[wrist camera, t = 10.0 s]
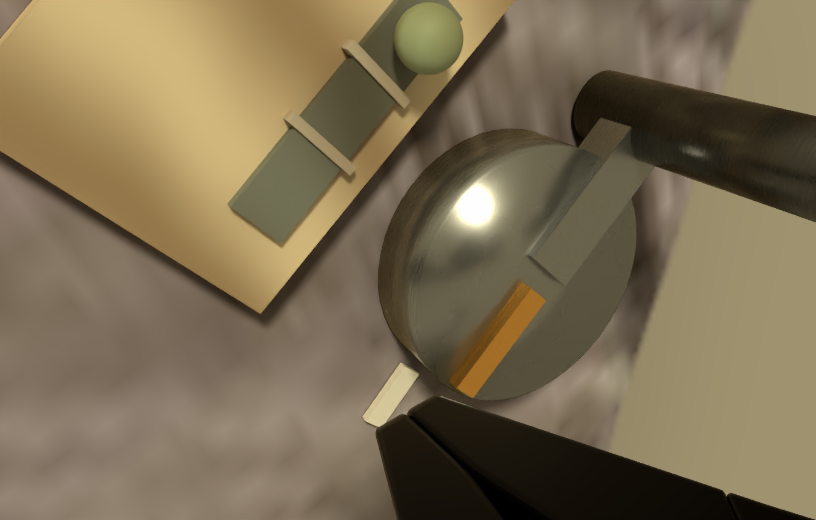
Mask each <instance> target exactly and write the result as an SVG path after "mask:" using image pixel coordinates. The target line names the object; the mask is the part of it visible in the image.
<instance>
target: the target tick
mask: <svg viewBox="0 0 816 520" xmlns="http://www.w3.org/2000/svg"><path fill="white" fill-rule="evenodd" d="M418 376H419V373H418V372H417V371H416V370H414V369H412V368H410V367H409V366H407V365H405V364H403V363H400V364H399V366H398V367H397V368H396V370H395V371H394V373H393V374H392V376H391V377H390V378H389V380H388V381H387V383H386V384H385V386H384V387H383V388H382V390H381V391H380V393H379V394H378V395H377V397H376V398H375V400H374V401H373V403H372V404H371V405H370V407H369V408H368V410H367V411H366V413H365V414H364V415H363V418H364V420H365V421H366V422H368V423H370V424H373V425H375V426H377V427H380V426H381V425H383V424H385V423H386V421H387V420H388V418H389V417H390V415H391V414H392V413H393V411H394V410H395V408H396V407H397V406H398V404H399V403H400V401H401V400H402V398H403V397H404V396H405V394H406V393H407V391H408V390H409V388H410V387H411V386H412V384H413V383H414V381H415V380H416V379H417V377H418Z"/></svg>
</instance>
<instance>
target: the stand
mask: <svg viewBox="0 0 816 520" xmlns="http://www.w3.org/2000/svg"><path fill="white" fill-rule="evenodd" d="M514 1H515V0H32V2H31V3H30V4H29V5H28V6H27V8H26V9H25V10H24V11H23V12H22V14H21V15H20V16H19V17H18V18H17V20H16V21H15V22H14V23H13V24H12V26H11V27H10V28H9V29H8V30H7V32H6V33H5V34H4V35H3V36H2V38H1V39H0V151H1V152H3V153H4V154H6V155H8V156H9V157H11V158H12V159H14V160H16V161H17V162H19V163H20V164H22V165H24V166H25V167H27V168H28V169H30V170H32V171H33V172H35V173H36V174H38V175H40V176H41V177H43V178H44V179H46V180H48V181H49V182H51V183H52V184H54V185H55V186H57V187H59V188H60V189H62V190H63V191H65V192H67V193H68V194H70V195H71V196H73V197H75V198H76V199H78V200H79V201H81V202H83V203H84V204H86V205H87V206H89V207H91V208H92V209H94V210H95V211H97V212H99V213H100V214H102V215H103V216H105V217H107V218H108V219H110V220H111V221H113V222H115V223H116V224H118V225H119V226H121V227H123V228H124V229H126V230H127V231H129V232H131V233H132V234H134V235H135V236H137V237H138V238H140V239H142V240H143V241H145V242H146V243H148V244H150V245H151V246H153V247H154V248H156V249H158V250H159V251H161V252H162V253H164V254H166V255H167V256H169V257H170V258H172V259H174V260H175V261H177V262H178V263H180V264H182V265H183V266H185V267H186V268H188V269H190V270H191V271H193V272H194V273H196V274H198V275H199V276H201V277H202V278H204V279H206V280H207V281H209V282H210V283H212V284H214V285H215V286H217V287H218V288H220V289H221V290H223V291H225V292H226V293H228V294H229V295H231V296H233V297H234V298H236V299H237V300H239V301H241V302H242V303H244V304H245V305H247V306H249V307H250V308H252V309H253V310H255V311H257V312H258V313H260V314H261V313H262V311H263V310H264V309H265V308H266V307H267V305H268V304H269V303H270V302H271V300H272V299H273V298H274V297H275V295H276V294H277V293H278V292H279V290H280V289H281V288H282V287H283V286H284V284H285V283H286V282H287V281H288V279H289V278H290V277H291V276H292V274H293V273H294V272H295V271H296V270H297V268H298V267H299V266H300V265H301V263H302V262H303V261H304V260H305V258H306V257H307V256H308V255H309V254H310V252H311V251H312V250H313V249H314V247H315V246H316V245H317V244H318V242H319V241H320V240H321V239H322V237H323V236H324V235H325V234H326V233H327V231H328V230H329V229H330V228H331V226H332V225H333V224H334V223H335V221H336V220H337V219H338V218H339V217H340V215H341V214H342V213H343V212H344V210H345V209H346V208H347V207H348V205H349V204H350V203H351V202H352V200H353V199H354V198H355V197H356V196H357V194H358V193H359V192H360V191H361V189H362V188H363V187H364V186H365V184H366V183H367V182H368V181H369V180H370V178H371V177H372V176H373V175H374V173H375V172H376V171H377V170H378V168H379V167H380V166H381V165H382V163H383V162H384V161H385V160H386V159H387V157H388V156H389V155H390V154H391V152H392V151H393V150H394V149H395V147H396V146H397V145H398V144H399V143H400V141H401V140H402V139H403V138H404V136H405V135H406V134H407V133H408V131H409V130H410V129H411V128H412V126H413V125H414V124H415V123H416V122H417V120H418V119H419V118H420V117H421V115H422V114H423V113H424V112H425V110H426V109H427V108H428V107H429V106H430V104H431V103H432V102H433V101H434V99H435V98H436V97H437V96H438V94H439V93H440V92H441V91H442V90H443V88H444V87H445V86H446V85H447V83H448V82H449V81H450V80H451V78H452V77H453V76H454V75H455V73H456V72H457V71H458V70H459V69H460V67H461V66H462V65H463V64H464V62H465V61H466V60H467V59H468V57H469V56H470V55H471V54H472V53H473V51H474V50H475V49H476V48H477V46H478V45H479V44H480V43H481V41H482V40H483V39H484V38H485V36H486V35H487V34H488V33H489V32H490V30H491V29H492V28H493V27H494V25H495V24H496V23H497V22H498V20H499V19H500V18H501V17H502V16H503V14H504V13H505V12H506V11H507V9H508V8H509V7H510V6H511V4H512V3H513V2H514Z"/></svg>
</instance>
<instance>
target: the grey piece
mask: <svg viewBox="0 0 816 520" xmlns="http://www.w3.org/2000/svg"><path fill="white" fill-rule="evenodd" d="M574 125H575V129H576V131H577V133H578V135H579V136H580V138H581V139H582V140H583V142H582V143H581V144H580V146H579V147H575V146H572V145H569V144H567V143H564V142H561V141H558V140H556V139H553V138H550V137H547V136H545V135H542V134H539V133H536V132H533V131H528V130H524V129H500V130H493V131H489V132H485V133H481V134H478V135H476V136H474V137H471V138H469V139H466V140H464V141H462V142H461V143H459V144H457V145H456V146H454V147H452V148H450V149H449V150H448V151H446V152H445V153H444V154H442V155H441V156H440V157H438V158H437V159H436V160H435V161H434V162H433V163H432V164H431V165H429V166H428V167H427V168H426V169H425V170H424V171H423V172H422V173H421V175H420V176H419V177H418V178H417V179H416V181H415V182H414V183H413V184H412V185H411V187H410V188H409V190H408V191H407V193H406V194H405V196H404V197H403V199H402V200H401V202H400V204H399V206H398V207H397V209H396V211H395V213H394V215H393V217H392V219H391V222H390V225H389V227H388V230H387V232H386V235H385V239H384V242H383V246H382V250H381V255H380V263H379V278H378V286H379V294H380V301H381V305H382V309H383V312H384V315H385V318H386V320H387V322H388V324H389V327H390V328H391V330H392V331H393V333H394V334H395V336H396V337H397V339H398V340H399V341H400V342H401V343H402V344H403V345H404V346H405V347H406V348H407V349H408V350H409V351H410V352H411V353H412V354H413V355H414V356H415V357H416V358H417V359H418V360H419V361H420V362H421V363H422V364H423V365H425V366H426V367H427V368H428V369H429V370H430V371H431V372H432V373H433V374H434V375H435V376H436V377H437V378H438V379H439V380H440V381H441V382H442V383H443V384H445V385H446V386H447V387H449V388H450V389H451V390H453V391H455V392H457V393H459V394H461V395H463V396H466V397H470V398H474V399H479V400H503V399H508V398H513V397H517V396H520V395H523V394H526V393H529V392H531V391H533V390H536V389H538V388H540V387H542V386H544V385H545V384H547V383H549V382H551V381H552V380H554V379H555V378H557V377H558V376H560V375H561V374H562V373H564V372H565V371H566V370H568V369H569V368H570V367H571V366H572V365H573V364H574V363H576V362H577V361H578V360H579V359H580V358H581V357H582V356H583V355H584V354H585V353H586V352H587V351H588V350H589V348H590V347H591V346H592V345H593V344H594V342H595V341H596V340H597V339H598V337H599V336H600V335H601V333H602V332H603V330H604V329H605V327H606V326H607V325H608V323H609V321H610V320H611V318H612V316H613V314H614V313H615V311H616V309H617V307H618V305H619V303H620V301H621V299H622V296H623V294H624V291H625V289H626V286H627V283H628V281H629V277H630V274H631V270H632V266H633V261H634V256H635V250H636V236H637V233H636V217H635V211H634V206H633V202H632V199H631V198H632V196H633V195H634V194H635V192H636V191H637V190H638V188H639V187H640V186H641V184H642V183H643V182H644V180H645V179H646V178H647V176H648V175H649V174H650V172H651V171H652V170H653V168H654V167H655V166H656V167H659V168H662V169H664V170H667V171H670V172H673V173H676V174H679V175H682V176H684V177H687V178H690V179H693V180H696V181H699V182H702V183H705V184H707V185H710V186H714V187H716V188H719V189H722V190H725V191H728V192H731V193H733V194H736V195H739V196H742V197H745V198H748V199H750V200H753V201H757V202H759V203H762V204H765V205H768V206H770V207H774V208H776V209H779V210H782V211H785V212H788V213H791V214H794V215H796V216H799V217H802V218H805V219H808V220H811V221H813V222H816V116H813V115H809V114H804V113H800V112H795V111H791V110H786V109H782V108H777V107H773V106H768V105H764V104H759V103H755V102H750V101H746V100H741V99H737V98H732V97H728V96H723V95H719V94H714V93H710V92H705V91H701V90H696V89H692V88H688V87H683V86H679V85H674V84H670V83H665V82H661V81H656V80H652V79H647V78H643V77H638V76H634V75H629V74H625V73H620V72H616V71H610V70H609V71H602V72H600V73H598V74H596V75H594V76H593V77H592V78H590V79H589V80H588V81H587V83H586V84H585V85H584V86H583V88H582V89H581V91H580V93H579V95H578V98H577V100H576V103H575V108H574Z"/></svg>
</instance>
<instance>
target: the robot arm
mask: <svg viewBox="0 0 816 520" xmlns="http://www.w3.org/2000/svg"><path fill="white" fill-rule="evenodd" d="M376 439H377V443H378V446H379V450H380V454H381V458H382V462H383V466H384V470H385V474H386V478H387V482H388V486H389V490H390V494H391V498H392V502H393V505H394V509H395V513H396V517H397V520H815V519H811V518H808V517H805V516H802V515H798V514H795V513H792V512H789V511H785V510H782V509H779V508H776V507H773V506H769V505H766V504H763V503H760V502H757V501H754V500H751V499H748V498H745V497H742V496H739V495H736V494H733V493H729V494H728V495H727V497H726V495H725V493H724V492H723V491H722V490H720V489H717V488H714V487H711V486H709V485H706V484H702V483H699V482H697V481H694V480H690V479H688V478H684V477H681V476H678V475H676V474H672V473H670V472H666V471H664V470H661V469H657V468H654V467H651V466H649V465H646V464H643V463H640V462H637V461H634V460H631V459H628V458H624V457H622V456H619V455H616V454H613V453H610V452H607V451H604V450H601V449H598V448H595V447H592V446H589V445H586V444H583V443H580V442H577V441H574V440H571V439H568V438H565V437H562V436H559V435H556V434H553V433H550V432H547V431H544V430H541V429H538V428H535V427H532V426H529V425H526V424H523V423H520V422H517V421H514V420H511V419H508V418H505V417H502V416H499V415H496V414H493V413H490V412H487V411H484V410H481V409H478V408H475V407H472V406H469V405H466V404H463V403H460V402H457V401H454V400H451V399H448V398H445V397H442V396H432V397H430V398H429V399H427V400H425V401H423V402H422V403H420V404H418V405H416V406H415V407H413V408H411V409H410V410H409V411H408V413H407V415H404V414H401V415H399V416H397V417H395V418H394V419H392V420H390V421H388V422H387V423H385V424H383V425H381V426H380V427H378V428H377V430H376Z"/></svg>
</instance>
